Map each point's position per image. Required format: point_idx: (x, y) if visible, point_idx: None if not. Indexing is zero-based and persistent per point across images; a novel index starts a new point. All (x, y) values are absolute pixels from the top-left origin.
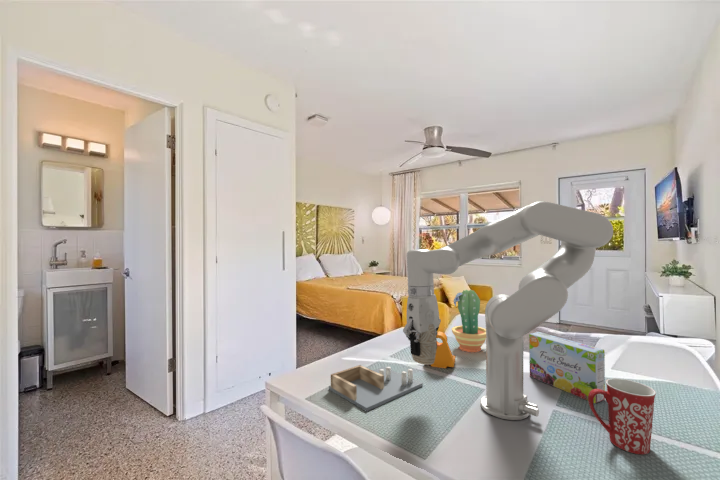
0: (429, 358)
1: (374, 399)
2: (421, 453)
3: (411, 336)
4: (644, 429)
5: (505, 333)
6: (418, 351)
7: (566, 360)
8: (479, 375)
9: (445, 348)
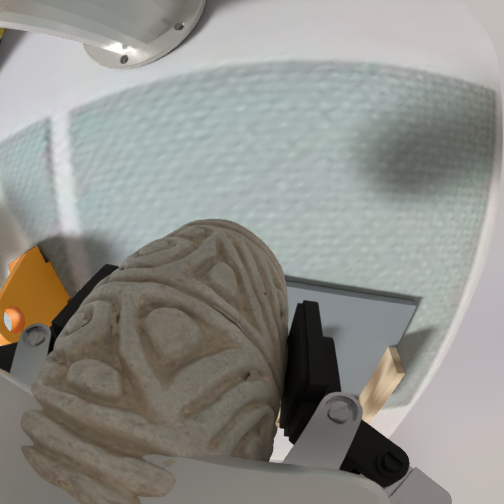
0: (248, 240)
1: (367, 318)
2: (487, 102)
3: (401, 456)
4: None
5: None
6: (317, 326)
7: None
8: (24, 172)
9: (13, 290)
